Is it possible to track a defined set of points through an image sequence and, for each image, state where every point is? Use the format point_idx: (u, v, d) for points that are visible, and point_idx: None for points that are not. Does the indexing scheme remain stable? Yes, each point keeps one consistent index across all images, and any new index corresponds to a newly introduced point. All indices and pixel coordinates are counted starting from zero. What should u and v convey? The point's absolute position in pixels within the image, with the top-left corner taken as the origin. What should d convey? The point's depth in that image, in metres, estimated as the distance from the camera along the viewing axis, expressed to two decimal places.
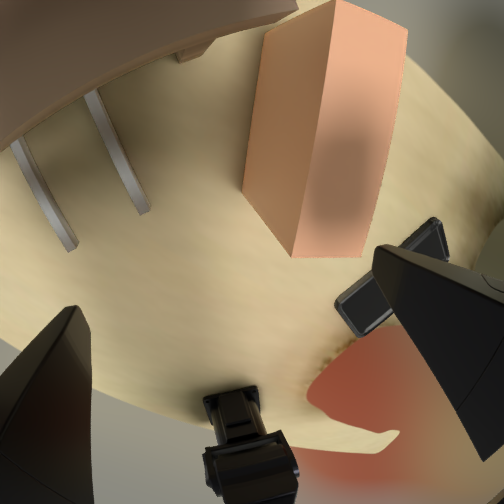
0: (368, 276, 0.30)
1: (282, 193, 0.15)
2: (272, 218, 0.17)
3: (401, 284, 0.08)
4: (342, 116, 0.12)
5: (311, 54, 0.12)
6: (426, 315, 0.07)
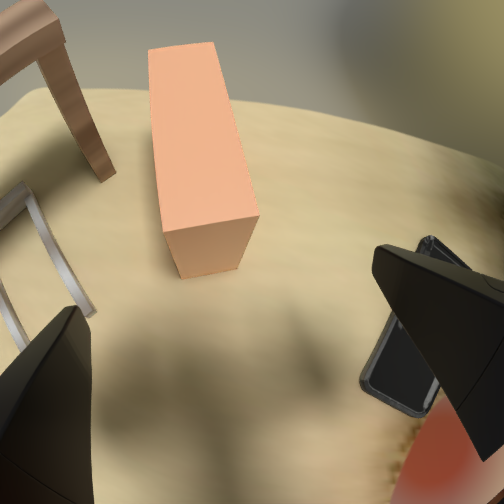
0: (383, 334, 0.22)
1: None
2: None
3: (401, 284, 0.08)
4: (171, 104, 0.14)
5: None
6: (426, 315, 0.07)
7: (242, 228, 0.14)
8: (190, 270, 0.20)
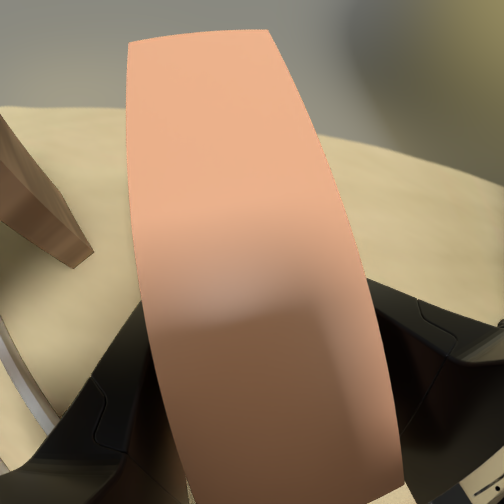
0: None
1: None
2: None
3: None
4: (187, 198, 0.06)
5: None
6: None
7: None
8: None
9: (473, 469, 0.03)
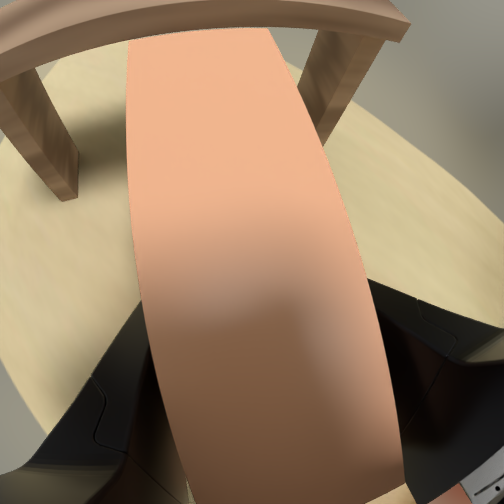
0: None
1: None
2: None
3: None
4: (187, 195, 0.06)
5: None
6: None
7: None
8: None
9: (473, 469, 0.03)
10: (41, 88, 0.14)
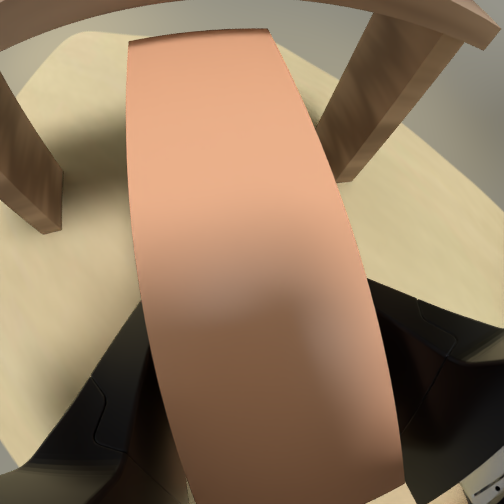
0: None
1: None
2: None
3: None
4: (187, 195, 0.06)
5: None
6: None
7: None
8: None
9: (473, 469, 0.03)
10: (7, 94, 0.10)
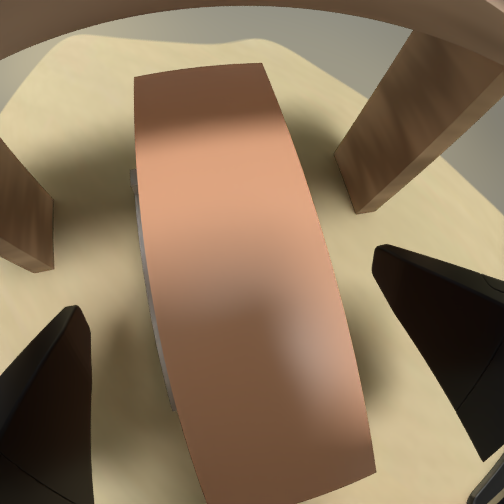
0: (500, 461, 0.15)
1: None
2: None
3: (401, 284, 0.08)
4: (191, 231, 0.07)
5: None
6: (426, 315, 0.07)
7: None
8: None
9: None
10: None
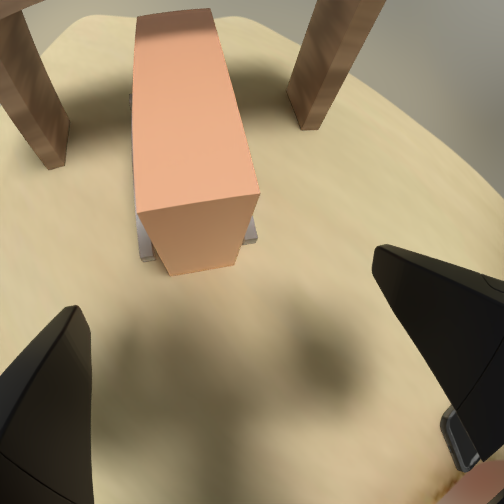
0: None
1: None
2: None
3: (401, 284, 0.08)
4: (157, 68, 0.11)
5: None
6: (426, 315, 0.07)
7: (238, 211, 0.11)
8: (179, 265, 0.17)
9: None
10: (32, 48, 0.12)
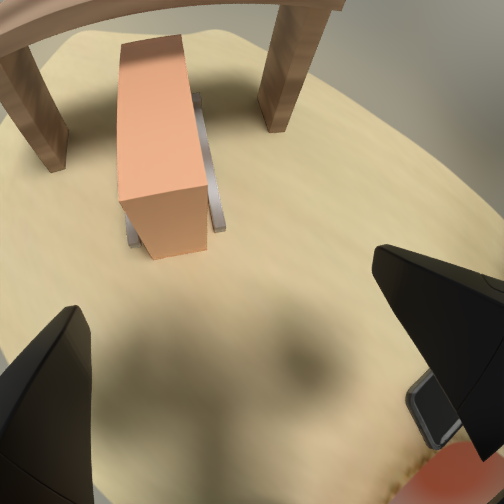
0: None
1: None
2: None
3: (401, 284, 0.08)
4: (136, 91, 0.14)
5: None
6: (426, 315, 0.07)
7: (195, 199, 0.15)
8: (158, 248, 0.20)
9: None
10: (35, 69, 0.16)
